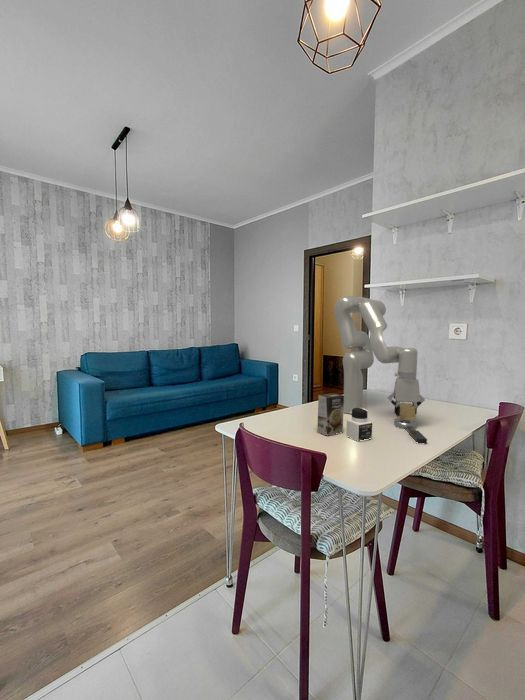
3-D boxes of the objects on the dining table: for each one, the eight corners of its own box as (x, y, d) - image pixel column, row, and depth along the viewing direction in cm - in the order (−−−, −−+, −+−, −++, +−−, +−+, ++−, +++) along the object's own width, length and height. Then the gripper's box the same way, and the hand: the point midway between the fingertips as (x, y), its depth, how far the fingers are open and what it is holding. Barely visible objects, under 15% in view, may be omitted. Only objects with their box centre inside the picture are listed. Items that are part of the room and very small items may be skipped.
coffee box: (327, 436, 135) (328, 397, 134) (316, 432, 140) (317, 394, 139) (343, 433, 140) (344, 395, 138) (332, 428, 145) (333, 392, 144)
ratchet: (409, 443, 128) (410, 427, 128) (392, 422, 155) (392, 409, 154) (434, 444, 127) (434, 428, 127) (412, 423, 153) (412, 410, 153)
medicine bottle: (358, 442, 129) (359, 412, 128) (346, 436, 135) (346, 407, 134) (372, 439, 132) (373, 409, 131) (359, 434, 139) (360, 405, 138)
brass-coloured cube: (399, 419, 146) (400, 406, 146) (395, 415, 153) (396, 402, 152) (415, 420, 146) (415, 406, 145) (410, 416, 152) (411, 403, 151)
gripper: (388, 376, 145) (387, 417, 147) (430, 377, 143) (428, 418, 144) (384, 374, 153) (383, 412, 154) (424, 375, 150) (422, 414, 152)
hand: (405, 415), depth 149 cm, fingers closed on brass-coloured cube, 6 cm apart
